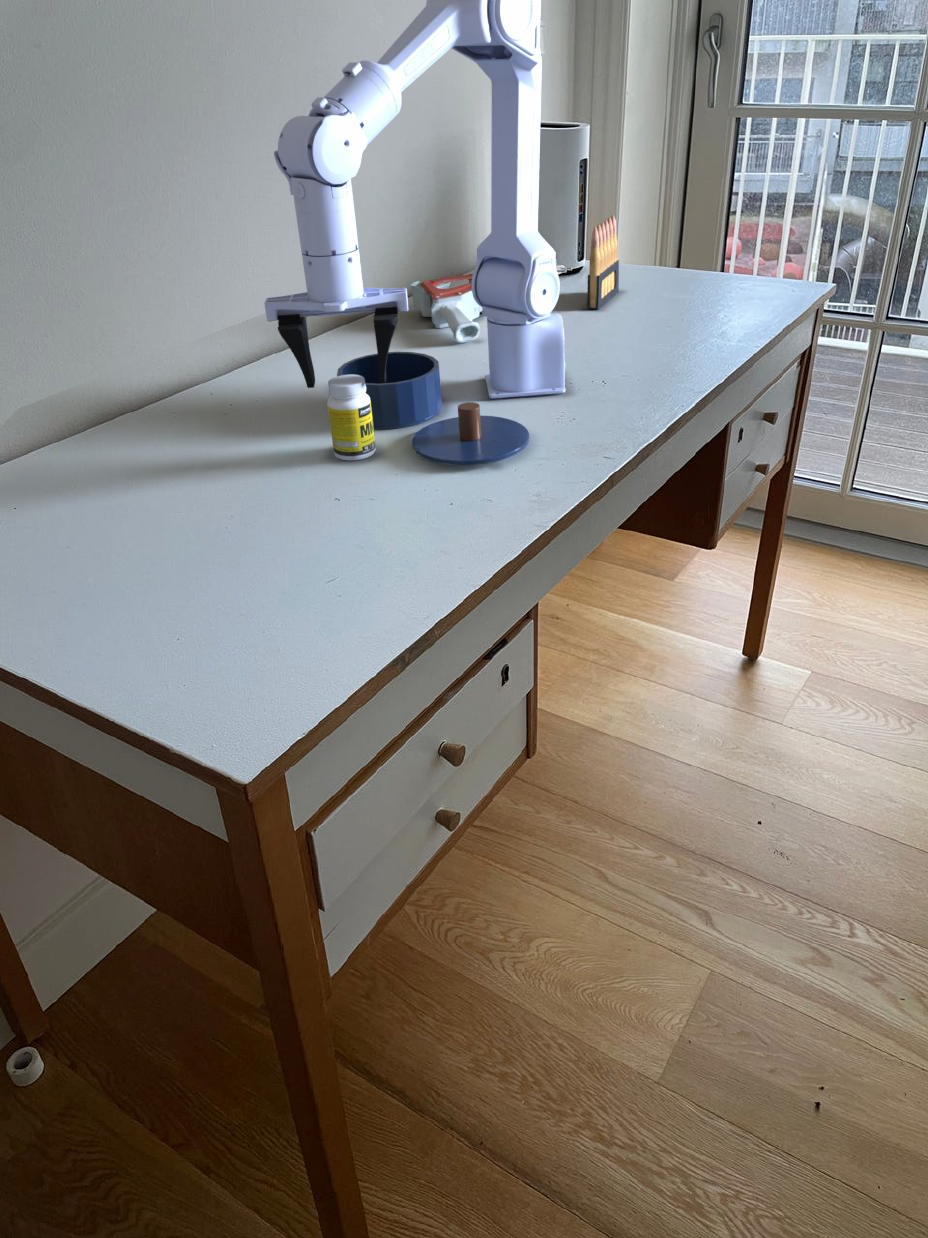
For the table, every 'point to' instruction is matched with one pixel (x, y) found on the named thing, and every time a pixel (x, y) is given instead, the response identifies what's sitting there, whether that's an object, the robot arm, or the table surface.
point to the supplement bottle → (350, 418)
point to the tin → (399, 388)
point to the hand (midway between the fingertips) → (347, 382)
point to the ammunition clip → (603, 265)
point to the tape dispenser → (449, 306)
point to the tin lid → (470, 438)
